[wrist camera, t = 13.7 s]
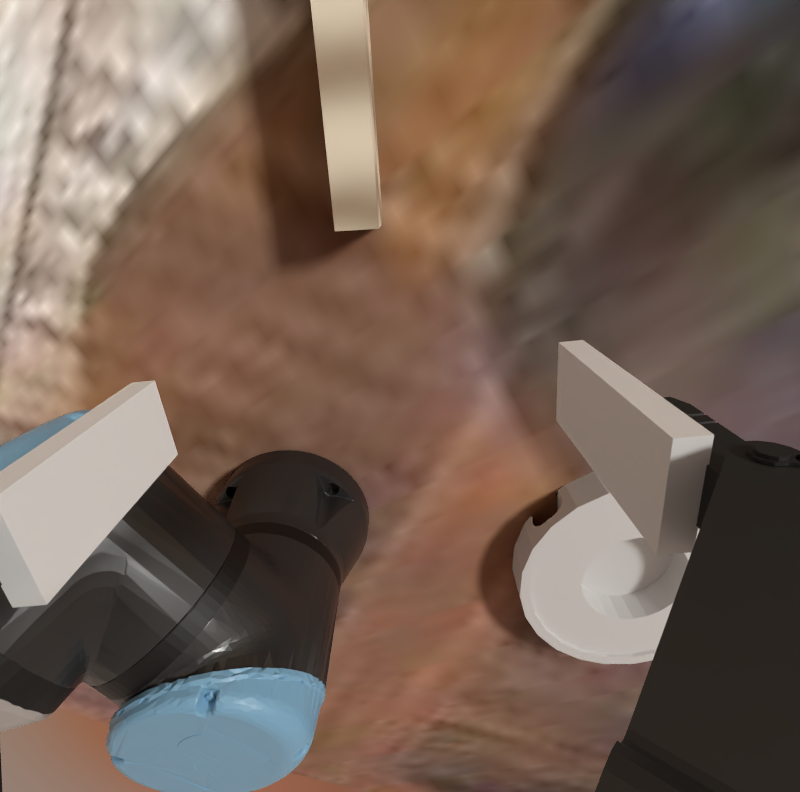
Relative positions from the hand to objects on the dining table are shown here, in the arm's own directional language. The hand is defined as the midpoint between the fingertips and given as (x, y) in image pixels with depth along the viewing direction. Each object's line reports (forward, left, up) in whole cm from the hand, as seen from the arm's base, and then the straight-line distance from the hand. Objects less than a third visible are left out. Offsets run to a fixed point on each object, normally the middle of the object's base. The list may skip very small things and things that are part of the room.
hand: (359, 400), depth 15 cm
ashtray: (-30, -23, -26) cm, 46 cm away
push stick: (+13, +2, -26) cm, 29 cm away
